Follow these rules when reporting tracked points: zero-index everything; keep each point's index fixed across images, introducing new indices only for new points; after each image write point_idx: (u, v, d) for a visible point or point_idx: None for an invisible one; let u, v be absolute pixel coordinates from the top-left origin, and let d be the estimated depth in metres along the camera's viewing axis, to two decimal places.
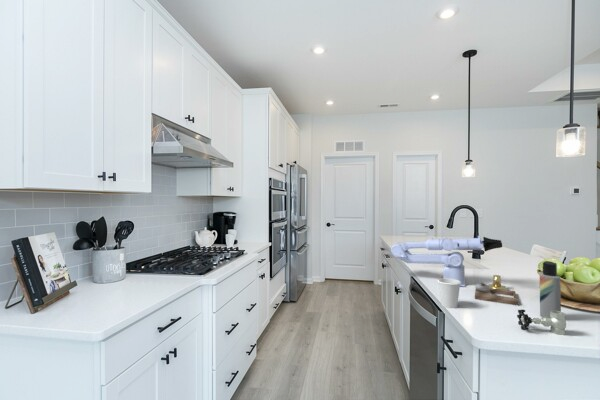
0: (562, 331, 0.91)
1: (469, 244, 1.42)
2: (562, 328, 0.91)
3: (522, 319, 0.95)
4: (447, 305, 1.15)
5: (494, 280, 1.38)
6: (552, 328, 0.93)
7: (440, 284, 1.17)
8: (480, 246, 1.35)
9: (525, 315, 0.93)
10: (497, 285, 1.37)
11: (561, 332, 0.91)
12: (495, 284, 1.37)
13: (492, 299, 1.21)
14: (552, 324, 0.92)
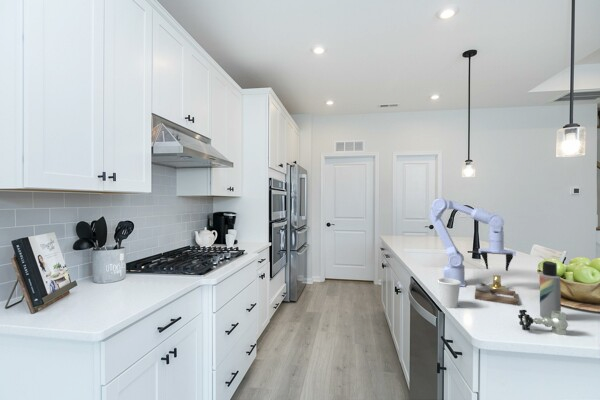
0: (563, 331, 0.91)
1: (489, 241, 1.39)
2: (563, 328, 0.91)
3: (523, 319, 0.95)
4: (447, 305, 1.15)
5: (494, 280, 1.38)
6: (553, 328, 0.93)
7: (440, 284, 1.17)
8: None
9: (526, 315, 0.93)
10: (497, 285, 1.37)
11: (562, 332, 0.91)
12: (495, 284, 1.37)
13: (492, 299, 1.21)
14: (553, 324, 0.92)
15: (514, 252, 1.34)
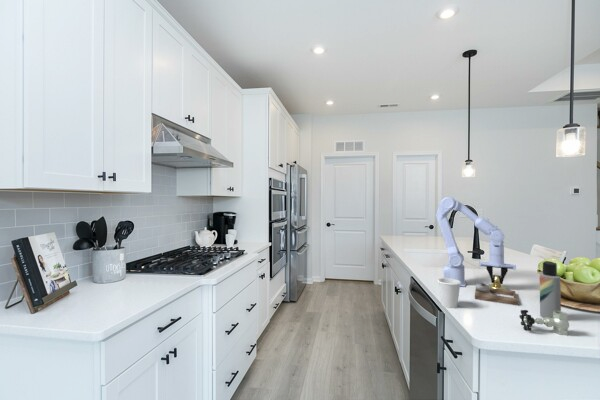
0: (565, 331, 0.91)
1: (489, 255, 1.39)
2: (565, 328, 0.91)
3: (525, 319, 0.95)
4: (447, 305, 1.15)
5: (494, 280, 1.38)
6: (555, 328, 0.93)
7: (440, 284, 1.17)
8: None
9: (528, 315, 0.93)
10: (497, 285, 1.37)
11: (564, 332, 0.91)
12: (495, 284, 1.37)
13: (492, 299, 1.21)
14: (555, 324, 0.92)
15: (514, 266, 1.34)
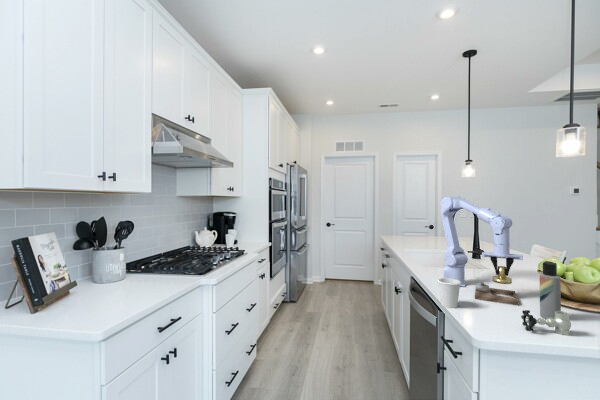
0: (567, 332, 0.91)
1: None
2: (567, 329, 0.91)
3: (527, 320, 0.95)
4: (447, 305, 1.15)
5: (499, 272, 1.27)
6: (557, 329, 0.93)
7: (440, 284, 1.17)
8: (482, 253, 1.31)
9: (530, 316, 0.93)
10: (502, 277, 1.26)
11: (566, 333, 0.91)
12: (500, 276, 1.26)
13: (492, 299, 1.21)
14: (557, 325, 0.92)
15: (521, 256, 1.23)
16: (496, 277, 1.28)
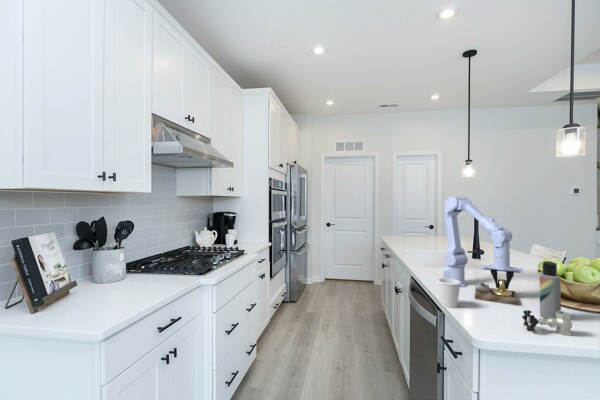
0: (568, 332, 0.91)
1: (494, 257, 1.28)
2: (568, 329, 0.91)
3: (528, 320, 0.94)
4: (447, 305, 1.15)
5: (499, 285, 1.27)
6: (558, 329, 0.92)
7: (440, 284, 1.17)
8: (482, 266, 1.31)
9: (531, 316, 0.93)
10: (502, 290, 1.26)
11: (567, 333, 0.91)
12: (500, 289, 1.26)
13: (492, 299, 1.21)
14: (558, 325, 0.92)
15: (521, 270, 1.23)
16: (496, 290, 1.28)
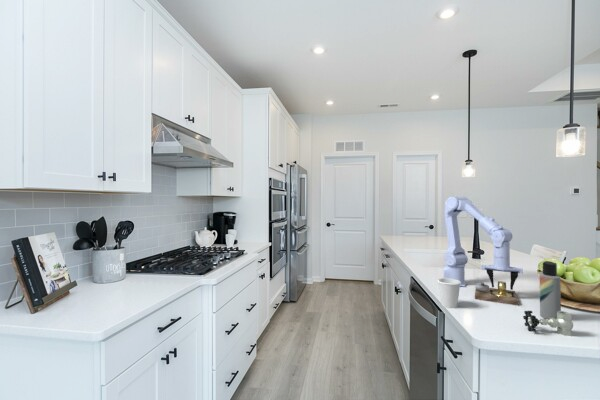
0: (569, 332, 0.91)
1: (494, 257, 1.28)
2: (569, 329, 0.91)
3: (529, 320, 0.94)
4: (447, 305, 1.15)
5: (499, 287, 1.27)
6: (559, 329, 0.92)
7: (440, 284, 1.17)
8: (482, 266, 1.31)
9: (533, 316, 0.92)
10: (502, 292, 1.26)
11: (568, 333, 0.91)
12: (500, 291, 1.27)
13: (492, 299, 1.21)
14: (559, 325, 0.92)
15: (521, 270, 1.23)
16: (496, 292, 1.29)
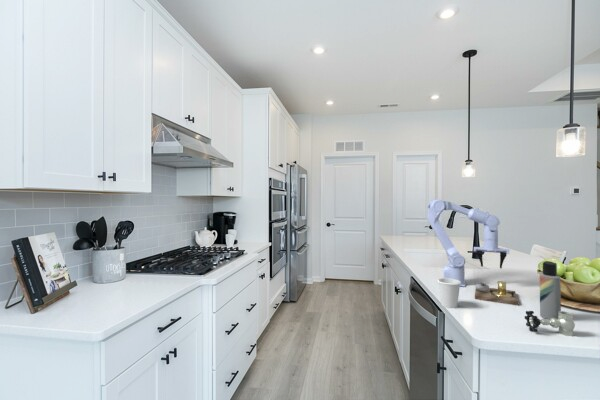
0: (571, 332, 0.91)
1: (484, 240, 1.44)
2: (571, 329, 0.91)
3: (531, 321, 0.94)
4: (447, 305, 1.15)
5: (499, 287, 1.27)
6: (560, 329, 0.92)
7: (440, 284, 1.17)
8: None
9: (534, 317, 0.92)
10: (502, 292, 1.26)
11: (570, 333, 0.91)
12: (500, 291, 1.27)
13: (492, 299, 1.21)
14: (561, 325, 0.92)
15: (508, 250, 1.38)
16: (496, 292, 1.29)
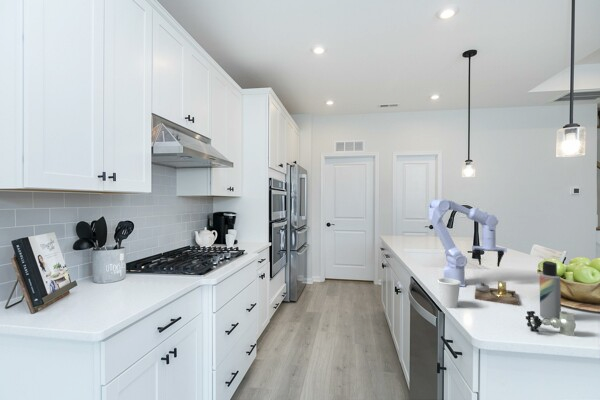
0: (572, 332, 0.91)
1: (482, 239, 1.48)
2: (572, 329, 0.90)
3: (532, 321, 0.94)
4: (447, 305, 1.15)
5: (499, 287, 1.27)
6: (562, 329, 0.92)
7: (440, 284, 1.17)
8: (472, 247, 1.50)
9: (535, 317, 0.92)
10: (502, 292, 1.26)
11: (571, 333, 0.91)
12: (500, 291, 1.27)
13: (492, 299, 1.21)
14: (562, 325, 0.92)
15: (505, 249, 1.42)
16: (496, 292, 1.29)
